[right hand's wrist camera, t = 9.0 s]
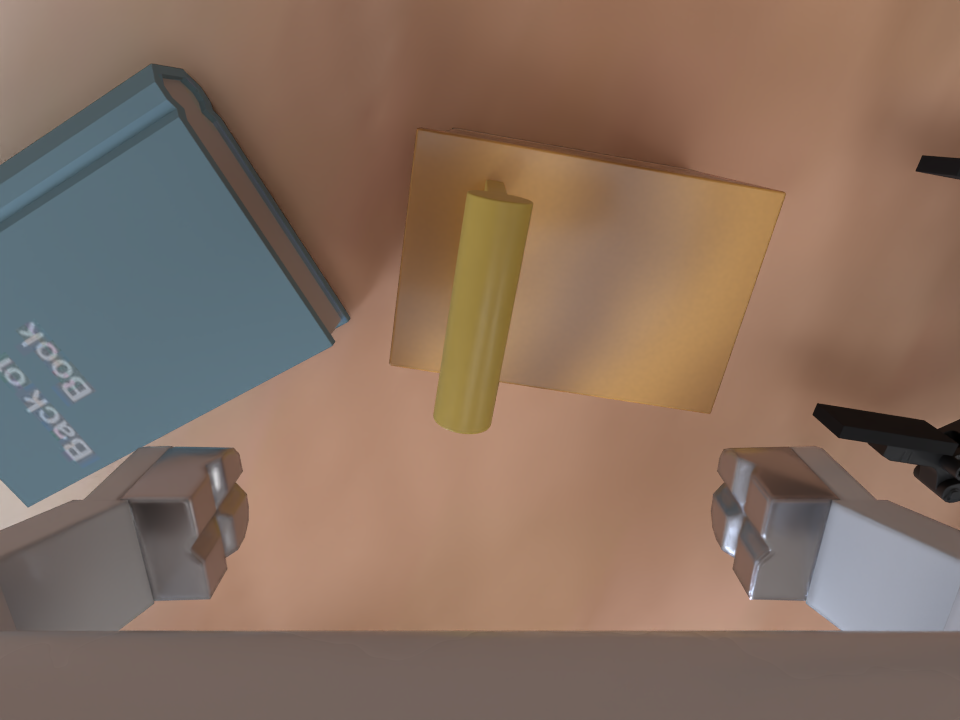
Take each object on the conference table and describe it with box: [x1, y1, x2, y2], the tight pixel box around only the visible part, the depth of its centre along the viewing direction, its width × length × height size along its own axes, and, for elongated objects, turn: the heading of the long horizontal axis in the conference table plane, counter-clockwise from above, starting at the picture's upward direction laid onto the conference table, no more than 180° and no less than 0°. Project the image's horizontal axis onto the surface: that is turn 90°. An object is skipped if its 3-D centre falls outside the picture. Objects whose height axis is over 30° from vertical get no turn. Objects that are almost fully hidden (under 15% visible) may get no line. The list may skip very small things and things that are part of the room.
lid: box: [389, 128, 786, 434], centre depth 22 cm, size 15×10×9 cm
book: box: [0, 64, 350, 507], centre depth 35 cm, size 23×16×5 cm
